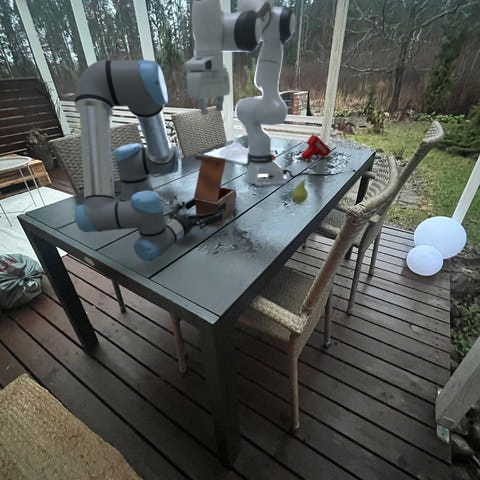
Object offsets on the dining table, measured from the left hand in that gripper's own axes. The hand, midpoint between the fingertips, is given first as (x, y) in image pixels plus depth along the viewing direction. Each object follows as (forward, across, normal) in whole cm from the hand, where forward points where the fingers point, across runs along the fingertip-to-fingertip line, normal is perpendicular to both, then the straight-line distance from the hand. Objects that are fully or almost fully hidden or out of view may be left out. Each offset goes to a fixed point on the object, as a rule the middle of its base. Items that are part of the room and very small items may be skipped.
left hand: (210, 203), depth 105 cm
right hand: (+5, 0, +31) cm, 32 cm away
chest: (+4, 0, -7) cm, 8 cm away
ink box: (+33, -55, -7) cm, 65 cm away
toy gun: (+100, +18, -7) cm, 102 cm away
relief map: (+86, -33, -7) cm, 92 cm away
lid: (+1, 0, +9) cm, 9 cm away
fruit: (+31, +27, -7) cm, 42 cm away
